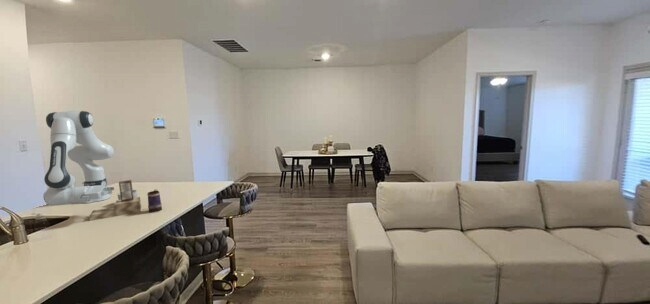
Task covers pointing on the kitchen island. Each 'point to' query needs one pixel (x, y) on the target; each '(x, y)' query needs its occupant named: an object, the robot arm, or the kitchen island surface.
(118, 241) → the kitchen island surface
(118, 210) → the stand
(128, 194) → the frame
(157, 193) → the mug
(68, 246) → the kitchen island surface
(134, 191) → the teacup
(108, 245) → the kitchen island surface
